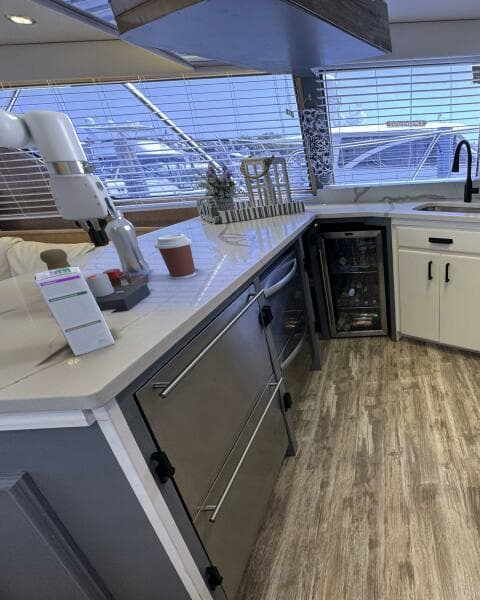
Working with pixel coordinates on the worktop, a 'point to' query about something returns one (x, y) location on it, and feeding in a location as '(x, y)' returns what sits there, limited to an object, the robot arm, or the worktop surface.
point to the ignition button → (113, 273)
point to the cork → (55, 258)
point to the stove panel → (123, 297)
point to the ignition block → (128, 279)
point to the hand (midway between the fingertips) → (102, 245)
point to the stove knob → (99, 284)
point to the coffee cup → (177, 255)
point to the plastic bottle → (127, 245)
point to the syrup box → (74, 309)
